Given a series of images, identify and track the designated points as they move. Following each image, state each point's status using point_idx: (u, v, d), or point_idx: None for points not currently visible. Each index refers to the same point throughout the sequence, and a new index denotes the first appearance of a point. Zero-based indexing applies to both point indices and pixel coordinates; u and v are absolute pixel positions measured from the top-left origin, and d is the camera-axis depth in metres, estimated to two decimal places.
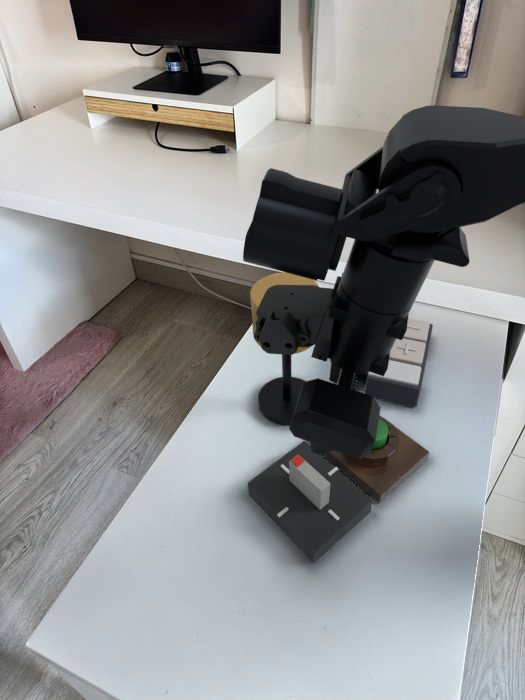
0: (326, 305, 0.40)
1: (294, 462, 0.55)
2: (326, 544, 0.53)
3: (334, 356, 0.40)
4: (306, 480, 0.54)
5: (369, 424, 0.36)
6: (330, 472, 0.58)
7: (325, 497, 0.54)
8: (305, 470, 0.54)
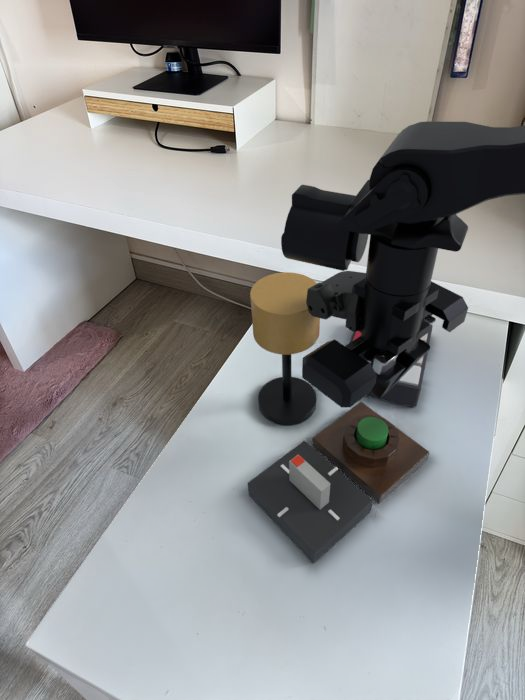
0: None
1: (294, 462, 0.55)
2: (326, 544, 0.53)
3: (362, 330, 0.49)
4: (306, 480, 0.54)
5: (350, 379, 0.44)
6: (330, 472, 0.58)
7: (325, 497, 0.54)
8: (305, 470, 0.54)
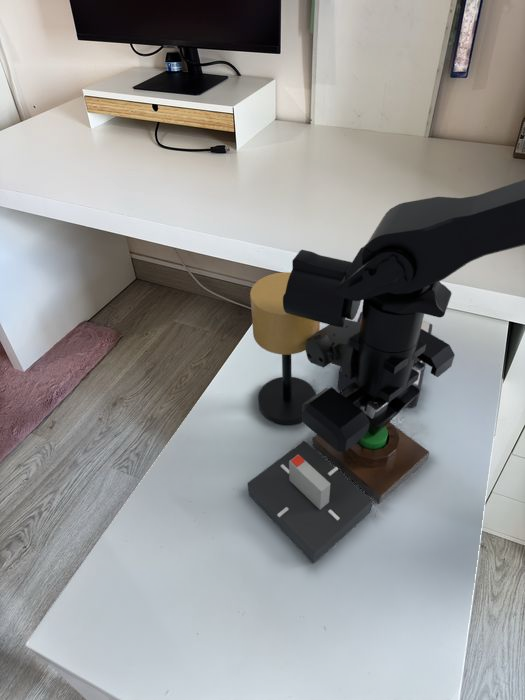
0: None
1: (294, 462, 0.55)
2: (326, 544, 0.53)
3: (356, 377, 0.53)
4: (306, 480, 0.54)
5: (345, 426, 0.49)
6: (330, 472, 0.58)
7: (325, 497, 0.54)
8: (305, 470, 0.54)
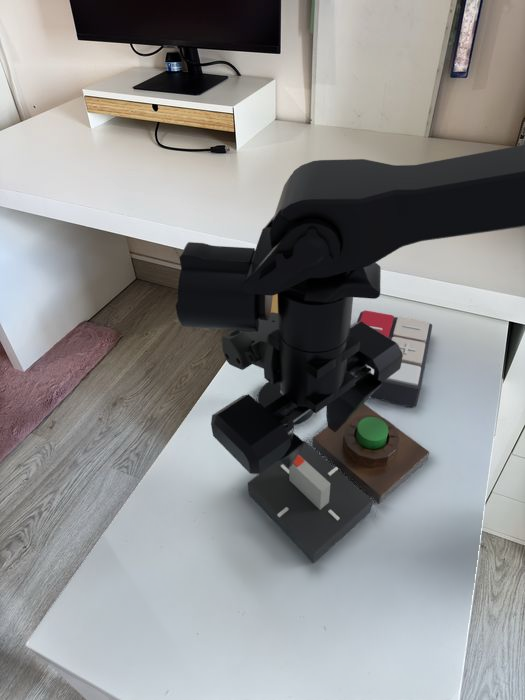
0: None
1: (294, 462, 0.55)
2: (326, 544, 0.53)
3: (280, 382, 0.44)
4: (306, 480, 0.54)
5: (258, 443, 0.39)
6: (330, 472, 0.58)
7: (325, 497, 0.54)
8: (305, 470, 0.54)
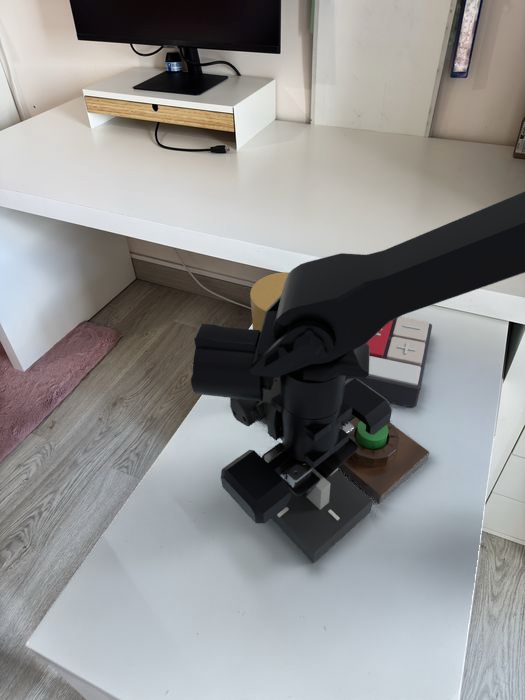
0: None
1: None
2: (326, 544, 0.53)
3: (282, 438, 0.49)
4: None
5: (262, 498, 0.45)
6: None
7: (325, 497, 0.54)
8: None
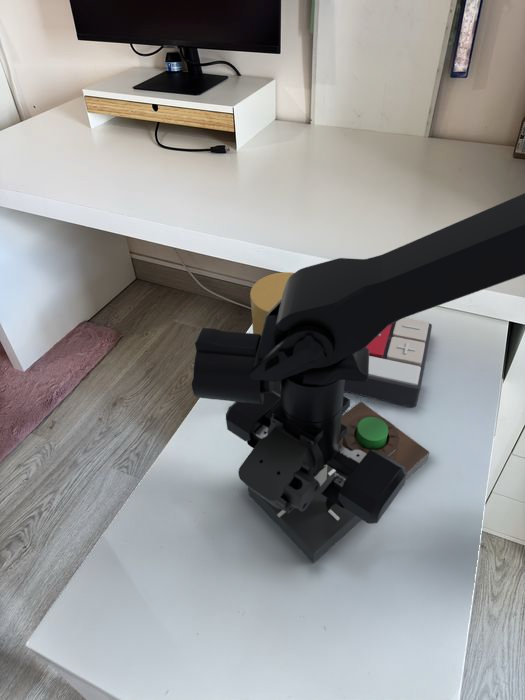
0: (294, 440, 0.46)
1: None
2: (326, 544, 0.53)
3: None
4: None
5: (395, 464, 0.47)
6: (330, 472, 0.58)
7: None
8: None
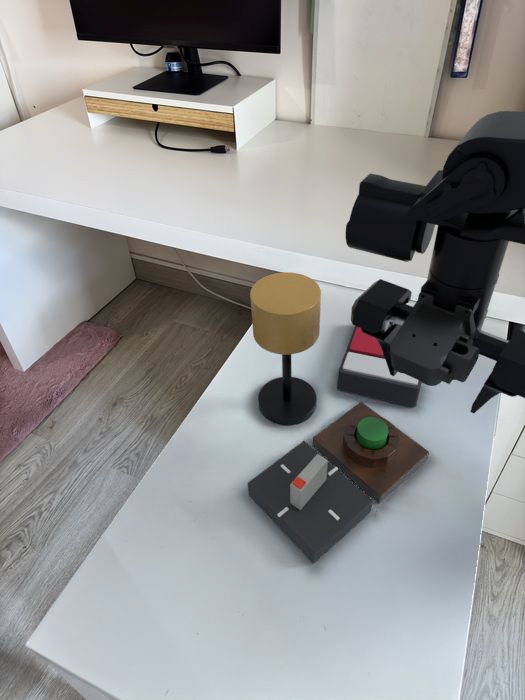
0: (446, 314, 0.44)
1: (302, 485, 0.53)
2: (326, 544, 0.53)
3: None
4: (316, 475, 0.54)
5: None
6: (330, 472, 0.58)
7: None
8: (308, 475, 0.54)
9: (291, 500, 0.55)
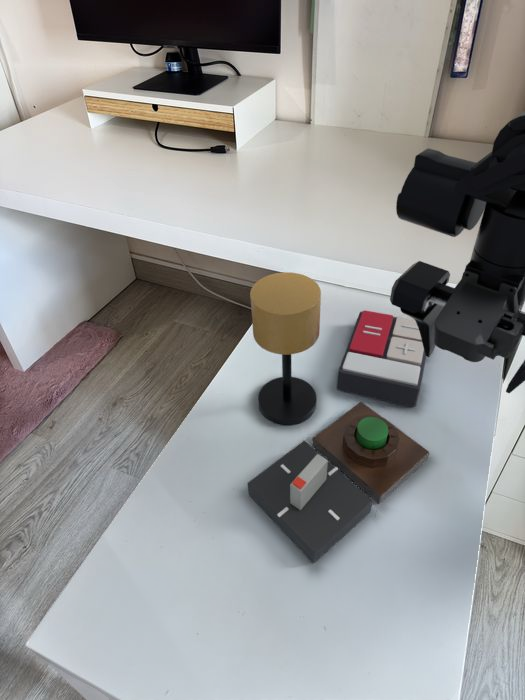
0: (490, 292, 0.45)
1: (302, 485, 0.53)
2: (326, 544, 0.53)
3: None
4: (316, 475, 0.54)
5: None
6: (330, 472, 0.58)
7: None
8: (308, 475, 0.54)
9: (291, 500, 0.55)
